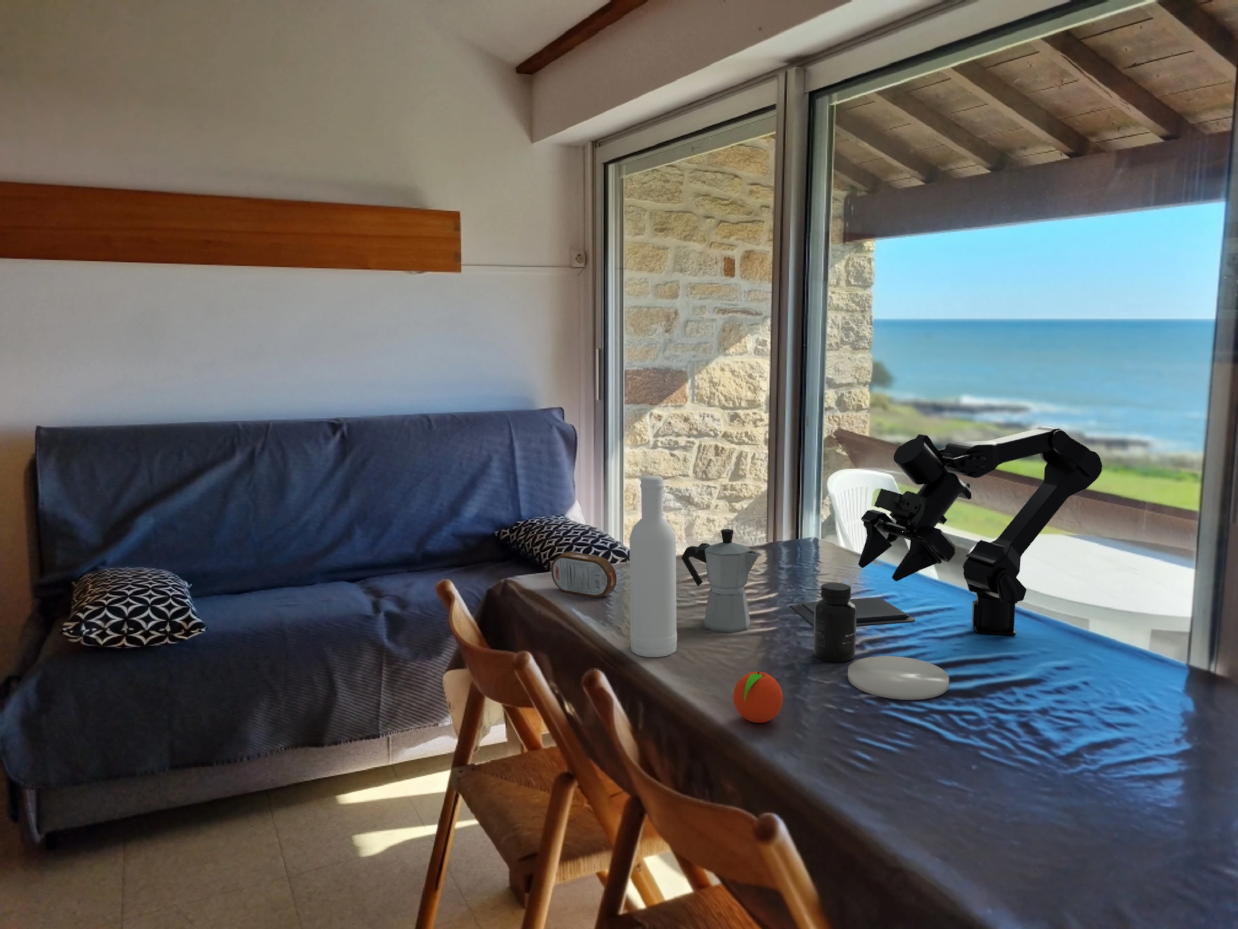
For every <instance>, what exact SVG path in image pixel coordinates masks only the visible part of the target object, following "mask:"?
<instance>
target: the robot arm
mask: <svg viewBox="0 0 1238 929" xmlns="http://www.w3.org/2000/svg"><path fill="white" fill-rule="evenodd" d="M1036 455H1039V456H1040V458H1041V460H1042V461H1044V463H1046V465H1045V466H1044V472H1043V481H1042V483H1041V484H1040V485H1039V486H1038V488H1036V490H1035V492H1034V493H1033V494H1032V495H1031V496H1030V498H1029V499H1028V500H1027V501H1026V503H1025V504H1024V505H1023V507H1022V508H1020V510H1019V511H1018V513H1016V515H1015V516H1014V517H1013V519H1012V520H1011V521H1010V522H1009V524H1008V525H1007V526H1006V527H1005V528H1004V530H1003V531H1002V532H1001V533H1000V534H999V536H998V537H997V538H996V539H995V540H993V541H985V540H983V539H981V540H979V541H978V542H977V543H976V544H975V545H974V548H973V549H972V550H971V551H970V552H969V553H968V554H965V557H966V560H964V563H963V565H962V569H963V572H962V573H963V578H964V580H965V582H966V584H967V588H968V591H969V592H971V593H975V600H973V601H972V606H971V625H972V626H973V627H974V628H975V632H976V633H978V634H989V635H1003V636H1016V634H1017V632H1016V629H1015V619H1016V604H1018V603H1019V602H1022V601H1024V599H1025V596H1026V593H1027V588H1026V586H1024V584H1022V582H1021V581H1020V580H1019V579H1018V578H1017V577H1018V575H1019V574H1020V572H1021V561H1022V560H1021V559H1022V556H1023V554H1024V553H1025V552H1026V551H1027V550H1028V548H1029V547H1030V546H1031V545H1032V543H1033V542H1034V541H1035V540H1036V538H1037V537H1038V536H1039V534H1040V533H1042V531H1043V529H1044V528H1045V527H1046V526H1047V524H1049V522H1050V521H1051V519H1052V518H1053V517H1054V516H1055V514H1056V513H1057V512H1058V511H1059V510H1060V509H1061V508H1062V506H1063V504H1065V502H1066V501H1067V500H1068V498H1070V497H1072V496H1074V495H1076V494H1078V493H1081V492H1082V491H1085V490H1087V488H1089V487H1090V486H1091V485H1092V484H1093V483H1095V481H1096V480H1097V479H1099V477H1100V476H1101V474H1102V472H1103V463H1102V458H1101V457H1100V456H1099V454H1098V453H1097V452H1096V451H1094V450H1091V449H1090V448H1089V447H1087V446H1086V445H1084V444H1082V443H1080V442H1079V441H1077V440H1076V439H1073V438H1072V437H1070V435H1068V434H1067V432H1065V430H1063V429H1061V428H1058V427H1049V426H1038V427H1035V428H1034V429H1030V430H1027V431H1023V432H1019V433H1015V434H1010V435H1006V436H1003V437H998V438H994V439H990V440H952V441H951V442H948V443H947V444H946V445H945V447H944V448H940V449H938V448H937V447H936V446H935V444H934V443H933V441H932V439H931V438H930V437H929V436H928V434H921V433H919V434H917V436H916V437H915V438H911V439H910V440H908V441H906V442H904V443H903V444H901V445H899V446H898V447H897V449H896V450H895V451H894V454H893V461H894V463H895V464H896V465H897V466H898V467H899V468H900V469H901V470H902V472H904V474H905V475H906V476H907V478H909V480H911V482H912V483H913V484H915V485H918V486H920V485H921V486H922V487H920V489H919V490H918V492H913V491H909V490H905V492H904V493H899V492H896V491H892V490H889V489H884V488H880V490H879V493H878V495H877V498H876V500H875V503H874V507H876V508H882V509H884V510H885V511H888V512H890V513H889V515H888V514H886V512H883V511H879V510H876V509H867V510H866V512H865V513H864V514H862V516H861V518H860V520H861V521H862V522H863V527H864V529H865V531H866V538H865V541H864V542H865V543H864V545H863V549H862V551H861V554H860V557H859V560H858V567H860V568H861V569H863V568H866V567H867V566H868V565H869V564H872V562H873V561H875V560H876V559H877V558H879V557H880V556H881V555H882V554H884V553H886V551H888V550H889V549H890V548H891V547H892V546H893V544H892V543H893V542H895V541H896V540H898V538H902V539H905V540H908V541H910V542H909V549H908V551H907V553H906V554H905V555H904V557H903V558H902V560H901V562H900V563H899V564H898V566H896V569H895V571H894V572H893V574H892V576H891V579H892V580H893V581H895V582H899V581H901V580H904V579H905V578H907V577H909V576H911V575H913V574H915V573H917V572H920V571H921V570H924V569H927V568H929V567H931V566H934V565H937V564H938V565H940V564H942V563H943V562H946V563H949V562H950V561H951V560H952V559H953V557H954V556H955V554H956V545H955V544H954V543H953V541H951V539H950V538H949V537H948V536H947V535H946V534H945V532H944V531H943V530H942V529H941V528H938V527H936V526H937V525H938V524H942V525H944V524H946V522H947V521H948V518H946V517H945V514H946V513H947V512H948V510H950V508H951V507H952V506H953V505H954V503H955V502H956V500H957V499H958V498H962V499H964V500H965V499H966V500H971V499H972V492H971V483H969V482H965V481H962V479H960V478H959V477H958V476H961V477H962V476H963V477H967V478H972V479H979V478H982V477H984V476H986V475H988V474H990V473H992V472H994V471H995V470H996V468H998V466H1000V465H1002V464H1005V463H1009V462H1013V461H1016V460H1020V459H1023V458H1024V459H1025V458H1028V457H1032V456H1036ZM890 517H891V518H890ZM893 520H894V521H895V522H894V521H893Z"/></svg>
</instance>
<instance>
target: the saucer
mask: <svg viewBox="0 0 1238 929" xmlns="http://www.w3.org/2000/svg"><path fill="white" fill-rule="evenodd" d="M847 679H848V681H849V683H850V684H851V685H852V687H855V688H856V689H858V690H859V691H861V692H865V693H867V694H869V695H872V696H876V697H881V698H887V699H892V700H902V701H903V700H905V701H913V700H914V701H915V700H927V699H932V698H935V697H939V696H941V695H943V694H945V693H946V692H947V691H948V689H949V687H950V686H949V685H950V684H949V683H950V677H949V674H948V673H947V672H946V671H945V669H943V668H941V667H939V666H937V665H935V664H933V663H930V662H928V661H923V660H920V659H915V658H911V657H904V656H891V655H888V656H886V655H883V656H882V655H881V656H870V657H869V656H868V657H866V658H861V659H858V660H856V661H854V662H852V663H851V664H849V666H848V667H847Z"/></svg>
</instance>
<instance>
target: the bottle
mask: <svg viewBox="0 0 1238 929" xmlns="http://www.w3.org/2000/svg"><path fill="white" fill-rule="evenodd" d="M664 486H665V485H664V478H663V477H662V476H661V475H653V474H651V475H644V476H642V477H640V491H641V494H640V496H641V499H640V500H641V505H640V506H641V518H640V519H639V520H638V521H637V522H636V523H635V524H634V525H633V527H632V529H631V533H630V536H629V587H630V588H629V592H630V594H629V595H630V598H629V600H630V601H629V602H630V606H629V607H630V632H629V636H630V637H629V639H630V649H631V652H632V653H633V654H635V655H637V656H640V657H644V658H645V657H646V658H662V657H666V656H671V655H672V654H674V653H675V652H676V651H677V642H678V632H677V546H676V545H677V539H676V534H675V531H674V529H673V526H672V525H671V524H670V523H669V522H668V521H667V520H666V519H665V517H664Z"/></svg>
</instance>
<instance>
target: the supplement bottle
mask: <svg viewBox="0 0 1238 929" xmlns="http://www.w3.org/2000/svg"><path fill="white" fill-rule="evenodd" d="M820 588H821V589H820V590H821V591H820V597H821V599H819V600H818V601H816V602H817V603H816V604H815V610H814V627H813V654H814V656H815V657H816V658H818V659H820V660H822V661H826V662H831V663H832V662H833V663H835V662H836V663H844V662H849V661H851V660H853V659H854V658H855V655H856V642H857V641H856V640H857V627H856V606H855V605H854V603H852V602H851V601H850V600H852V591H851V590H852V587H851V585H849V584H847V583H841V582H827V583H823V584H821V587H820Z"/></svg>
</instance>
